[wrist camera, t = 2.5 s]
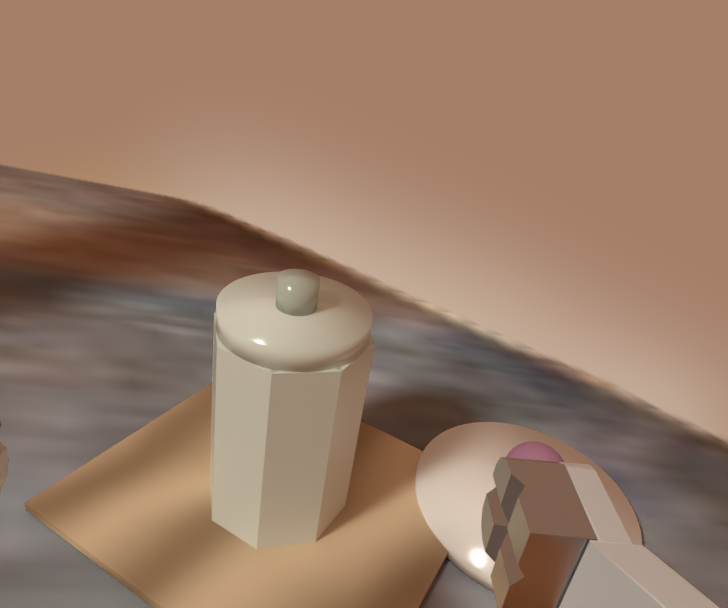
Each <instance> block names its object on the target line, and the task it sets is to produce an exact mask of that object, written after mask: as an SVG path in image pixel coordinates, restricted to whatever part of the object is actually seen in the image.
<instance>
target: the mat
mask: <svg viewBox="0 0 728 608" xmlns="http://www.w3.org/2000/svg"><path fill="white" fill-rule="evenodd" d="M211 418H212V383H211V384H209V385H208V386H206V387H205V388H203V389H201V390H200V391H198V392H197V393H195V394H194V395H192V396H191V397H189V398H187V399H186V400H184V401H183V402H181V403H180V404H178V405H177V406H175V407H174V408H172V409H170V410H169V411H167V412H166V413H164V414H163V415H161V416H160V417H158V418H156V419H155V420H153V421H152V422H150V423H149V424H147V425H146V426H144V427H142V428H141V429H139V430H138V431H136V432H135V433H133V434H132V435H130V436H128V437H127V438H125V439H124V440H122V441H121V442H119V443H118V444H116V445H114V446H113V447H111V448H110V449H108V450H107V451H105V452H104V453H102V454H100V455H99V456H97V457H96V458H94V459H93V460H91V461H90V462H88V463H86V464H85V465H83V466H82V467H80V468H79V469H77V470H76V471H74V472H72V473H71V474H69V475H68V476H66V477H65V478H63V479H62V480H60V481H58V482H57V483H55V484H54V485H52V486H51V487H49V488H48V489H46V490H44V491H43V492H41V493H40V494H38V495H37V496H35V497H34V498H32V499H30V500H29V501H27V502H26V503H25V508H26V510H27V511H28V512H29V513H31V514H32V515H33V516H34V517H36V518H37V519H38V520H40V521H41V522H42V523H44V524H45V525H46V526H47V527H49V528H50V529H51V530H53V531H54V532H55V533H57V534H58V535H59V536H61V537H62V538H63V539H64V540H66V541H67V542H68V543H70V544H71V545H72V546H74V547H75V548H76V549H78V550H79V551H80V552H81V553H83V554H84V555H85V556H87V557H88V558H89V559H91V560H92V561H93V562H95V563H96V564H97V565H98V566H100V567H101V568H102V569H104V570H105V571H106V572H108V573H109V574H110V575H112V576H113V577H114V578H115V579H117V580H118V581H119V582H121V583H122V584H123V585H125V586H126V587H127V588H129V589H130V590H131V591H132V592H134V593H135V594H136V595H138V596H139V597H140V598H142V599H143V600H144V601H145V602H147V603H148V604H149V605H151V606H152V607H153V608H420V606H421V604H422V602H423V600H424V598H425V597H426V595H427V593H428V591H429V589H430V587H431V585H432V584H433V582H434V580H435V578H436V576H437V574H438V572H439V571H440V569H441V567H442V565H443V563H444V561H445V560H446V558H447V555H448V552H449V551H448V550H447V549H446V548H445V547H444V546H443V545H442V544H441V542H440V541H439V540H438V539H437V538H436V536H435V535H434V533H433V532H432V530H431V529H430V527H429V526H428V524H427V522H426V520H425V518H424V516H423V515H422V512H421V510H420V507H419V504H418V501H417V496H416V491H415V476H416V470H417V466H418V462H419V459H420V457H421V454H422V453H423V451H421V450H419V449H417V448H415V447H413V446H411V445H409V444H407V443H405V442H403V441H401V440H399V439H397V438H395V437H393V436H391V435H389V434H387V433H385V432H383V431H381V430H379V429H377V428H375V427H373V426H371V425H369V424H367V423H365V422H363V421H361V423H360V428H359V434H358V439H357V445H356V450H355V456H354V461H353V467H352V472H351V477H350V483H349V488H348V494H347V499H346V505H345V507H344V508H343V509H342V511H341V512H340V513H339V514H338V515H337V517H336V518H335V519H334V520H333V521H332V523H331V524H330V525H329V526H328V527H327V529H326V530H325V531H324V532H323V533H322V535H321V536H320V537H319V538H318V539H317V541H316V542H313V543H305V544H297V545H289V546H281V547H273V548H265V549H255V548H254V547H252V546H251V545H249V544H248V543H246V542H245V541H243V540H241V539H240V538H238V537H237V536H235V535H234V534H232V533H231V532H229V531H228V530H226V529H224V528H223V527H221V526H220V525H218V524H217V523H215V522H214V521H212V511H211V488H210V457H211Z"/></svg>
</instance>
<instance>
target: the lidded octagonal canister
mask: <svg viewBox="0 0 728 608" xmlns="http://www.w3.org/2000/svg"><path fill="white" fill-rule="evenodd" d="M372 321H373V312H372V309H371V306H370V305H369V303H368V302H367V300H366V299H365V298H364V297H363V296H362V295H360V294H359V293H358V292H357V291H355V290H354V289H352V288H350V287H348V286H346V285H345V284H342V283H340V282H338V281H335V280H332V279H329V278H326V277H322V276H318V275H317V274H315V273H313V272H311V271H308V270H304V269H287V270H284V271H281V272H266V273H259V274H254V275H250V276H246V277H243V278H241V279H238V280H236V281H234V282H232V283H230V284H229V285H227V286H226V287H225V288H224V289H223V290H222V291H221V292H220V294H219V295H218V298H217V301H216V312H214V341H213V379H212V418H211V457H210V488H211V511H212V521H214V522H215V523H217V524H218V525H220V526H221V527H223V528H224V529H226V530H228V531H229V532H231V533H232V534H234V535H235V536H237V537H238V538H240V539H241V540H243V541H245V542H246V543H248V544H249V545H251V546H252V547H254V548H255V549H265V548H273V547H281V546H289V545H297V544H305V543H313V542H316V541H317V539H318V538H319V537H320V536H321V535H322V533H323V532H324V531H325V530H326V529H327V527H328V526H329V525H330V524H331V523H332V521H333V520H334V519H335V518H336V517H337V515H338V514H339V513H340V512H341V511H342V509H343V508H344V507H345V505H346V499H347V494H348V488H349V483H350V477H351V472H352V467H353V461H354V456H355V450H356V445H357V439H358V434H359V428H360V423H361V417H362V412H363V406H364V401H365V395H366V390H367V384H368V379H369V373H370V368H371V363H372V357H373V352H374V346H375V343H374V341H373V339H372V337H371V335H370V332H371V326H372Z"/></svg>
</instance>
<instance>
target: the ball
mask: <svg viewBox="0 0 728 608" xmlns="http://www.w3.org/2000/svg"><path fill="white" fill-rule="evenodd" d="M506 457H507V458H518V459H528V460H539V461H550V462H557V463H559V462H564V461H563V459H562V457H561V456H560V455H559V453H558V452H557V451H556V450H554V449H553V448H552V447H550V446H549V445H547V444H544V443H541V442H536V441H529V442H524V443H521V444H519V445H517V446H515V447H514V448H513V449H512V450H511V451H510V452H509V453H508V454H507V456H506Z"/></svg>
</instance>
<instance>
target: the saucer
mask: <svg viewBox="0 0 728 608" xmlns="http://www.w3.org/2000/svg"><path fill="white" fill-rule="evenodd" d="M529 441H536V442H541V443H544V444H547V445H549V446H550V447H552V448H553V449H554V450H556V451H557V452H558V453H559V455H560V456H561V457H562V459H563V461H564V462H567V463H579V464H589V465H591V466H592V467H593V468H594V469H595V470H596V472H597V474H598V476H599V478H600V480H601V482H602V484H603V486H604V488H605V490H606V492H607V494H608V496H609V498H610V500H611V502H612V504H613V506H614V507H615V509H616V511H617V513H618V515H619V517H620V519H621V521H622V523H623V525H624V527H625V529H626V531H627V533H628V535H629V537H630V539H631V541H632V543H633V544H636V545H642V537H641V529H640V526H639V523H638V519H637V517H636V515H635V512H634V510H633V508H632V506H631V504H630V503H629V501H628V499H627V498H626V496H625V495H624V493H623V492H622V491H621V489H620V488H619V487H618V485H617V484H616V483H615V482H614V481H613V480H612V479H611V478H610V477H609V475H608V474H606V473H605V472H604V471H603V470H602V469H601V468H600V467H599V466H598V465H596V464H595V463H594V462H593V461H591V460H590V459H589V458H588V457H586V456H585V455H583V454H582V453H580V452H579V451H577V450H576V449H574V448H572V447H571V446H569V445H567V444H565V443H564V442H562V441H560V440H557V439H555V438H553V437H551V436H549V435H546V434H544V433H541V432H539V431H536V430H532V429H529V428H526V427H522V426H518V425H513V424H507V423H498V422H475V423H467V424H463V425H459V426H456V427H453V428H450V429H448V430H446V431H444V432H442V433H441V434H439V435H438V436H436V437H435V438H434V439H433V440H432V441H431V442H430V443H429V444H428V445H427V446H426V448H425V449H424V451H423V453H422V454H421V457H420V459H419V462H418V466H417V470H416V476H415V491H416V496H417V501H418V504H419V507H420V510H421V512H422V515H423V516H424V518H425V520H426V522H427V524H428V526H429V527H430V529H431V530H432V532H433V533H434V535H435V536H436V538H437V539H438V540H439V541H440V542H441V544H442V545H443V546H444V547H445V548H446V549H447V550H448V551H449V552H448V555H447V558H448V559H449V560H450V561H451V562H452V563H453V564H454V565H455V566H456V567H457V568H458V569H460V570H461V571H462V572H464V573H465V574H466V575H467V576H469V577H470V578H471V579H473V580H474V581H476V582H478V583H479V584H481V585H482V586H484V587H485V588H487V589H489V590H491V591H493V592H494V589H493V585H492V581H491V573H492V570H493V567H494V564H495V562H494V561H493V560H492V559H491V558H490V557H489V555H488V554H487V553H486V552H485V549H484V545H483V540H482V530H481V520H482V508H483V505H484V501H485V497H486V494H487V493H488V492H490V491H491V490H493V489H494V488H495V487H496V485H495V481H494V478H493V472H494V469H495V466H496V463H497V462H498V460H499V459H500V458H501V457H506V456H507V454H508V453H509V452H510V451H511V450H512V449H513V448H514V447H515V446H517V445H519V444H521V443H524V442H529Z"/></svg>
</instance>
